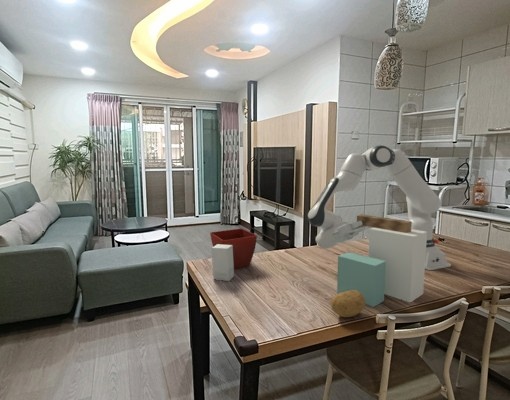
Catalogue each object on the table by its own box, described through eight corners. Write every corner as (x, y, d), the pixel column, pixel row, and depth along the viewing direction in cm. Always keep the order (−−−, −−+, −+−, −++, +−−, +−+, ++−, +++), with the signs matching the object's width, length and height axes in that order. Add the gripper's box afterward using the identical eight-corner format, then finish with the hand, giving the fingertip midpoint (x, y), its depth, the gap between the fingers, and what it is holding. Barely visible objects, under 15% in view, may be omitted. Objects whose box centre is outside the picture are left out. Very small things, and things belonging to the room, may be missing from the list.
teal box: (348, 288, 135) (349, 252, 133) (383, 300, 123) (385, 261, 121) (337, 293, 130) (338, 255, 128) (373, 307, 118) (375, 265, 116)
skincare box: (234, 276, 150) (233, 244, 148) (228, 282, 143) (228, 248, 141) (218, 275, 152) (217, 243, 150) (212, 279, 146) (211, 247, 144)
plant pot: (223, 273, 154) (222, 240, 152) (210, 262, 171) (209, 232, 169) (258, 267, 163) (257, 235, 161) (242, 257, 180) (241, 228, 177)
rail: (356, 224, 141) (356, 215, 140) (361, 223, 143) (361, 214, 143) (406, 232, 124) (407, 222, 124) (411, 231, 127) (411, 221, 126)
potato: (322, 315, 112) (323, 293, 111) (349, 304, 120) (349, 284, 119) (344, 327, 104) (345, 304, 103) (371, 315, 112) (372, 293, 111)
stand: (381, 281, 143) (383, 224, 140) (423, 293, 129) (427, 231, 126) (367, 288, 135) (369, 228, 132) (410, 302, 122) (414, 236, 118)
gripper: (327, 228, 143) (351, 217, 133) (353, 222, 156) (376, 211, 146) (333, 241, 141) (358, 231, 131) (358, 234, 154) (382, 224, 144)
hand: (368, 220), depth 139 cm, fingers open, 8 cm apart
